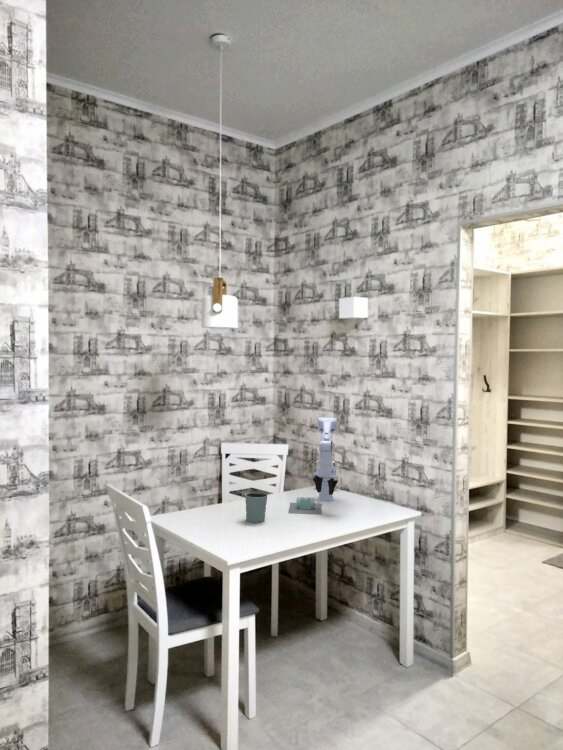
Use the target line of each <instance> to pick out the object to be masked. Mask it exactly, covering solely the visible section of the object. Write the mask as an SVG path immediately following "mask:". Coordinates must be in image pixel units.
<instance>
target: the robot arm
mask: <svg viewBox="0 0 563 750" xmlns="http://www.w3.org/2000/svg"><path fill="white" fill-rule="evenodd" d="M337 424H338V419H337V417H321V416H319V417H318V418H317V430H318V433H320V441H319V443H318V444H319V446H318V447H319V450H318V451H319V460H320V466H319V467H318V469H317V472H316V471H315V472H312V480H313V482H314V485H315V486H316V489H315V490H316V492H317V493H318V496H317V502H334V496H333V495H334V492H335V490H334V488H335V486H336V487H337V485H338V482H339V475H337V474H336V475H335V468H334V467H333V466H332V461H333V460H332V459H333V458H332V457H333V451H334V442H333V441H334V440H333V434H336V432H337ZM331 470H332V471H331Z"/></svg>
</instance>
